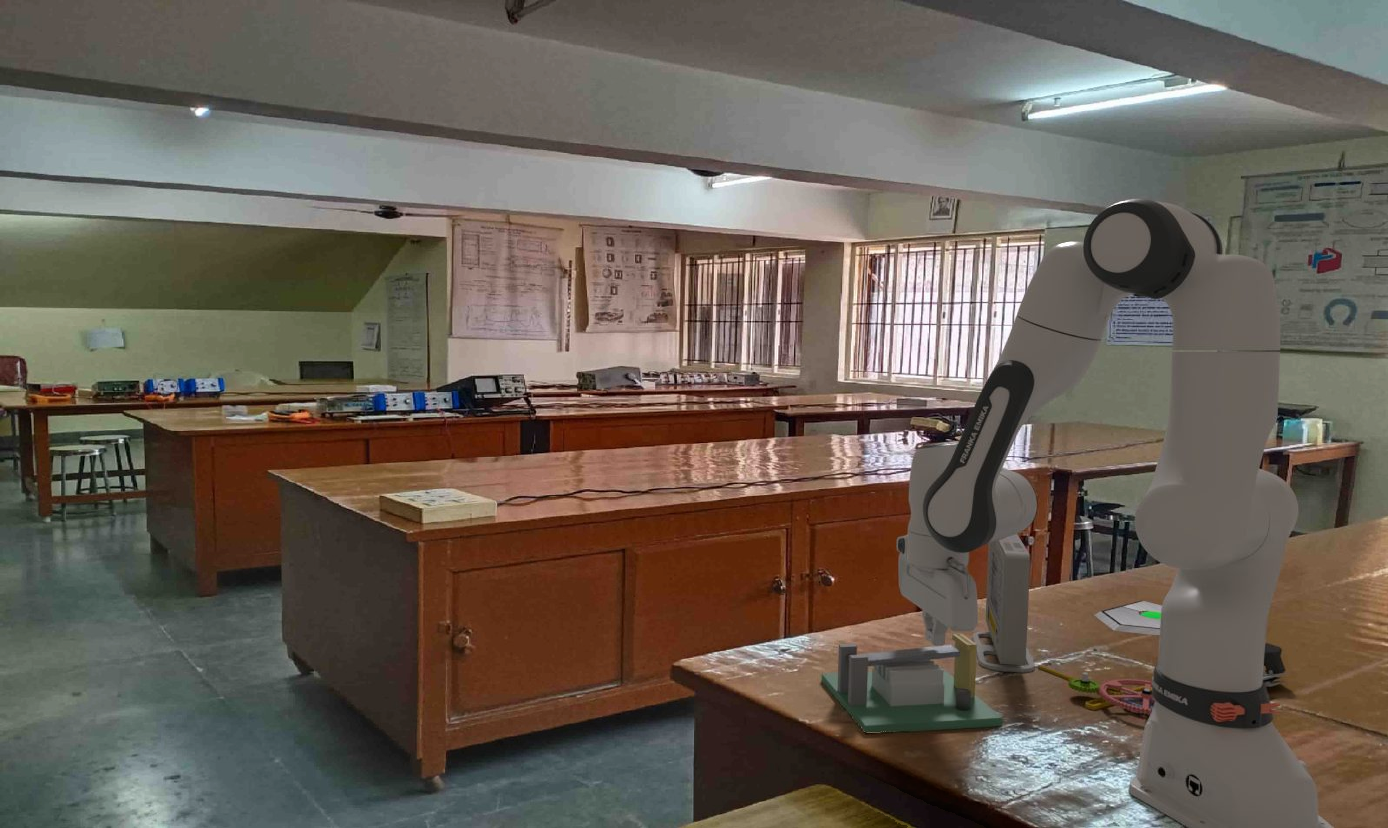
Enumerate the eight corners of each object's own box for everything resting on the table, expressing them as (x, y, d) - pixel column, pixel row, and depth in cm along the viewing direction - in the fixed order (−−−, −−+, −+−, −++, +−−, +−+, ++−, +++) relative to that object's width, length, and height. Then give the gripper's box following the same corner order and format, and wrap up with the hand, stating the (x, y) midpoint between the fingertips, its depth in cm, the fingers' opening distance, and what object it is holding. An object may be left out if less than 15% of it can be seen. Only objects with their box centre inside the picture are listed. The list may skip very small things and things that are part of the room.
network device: (1040, 680, 152) (1045, 556, 150) (982, 676, 154) (987, 553, 152) (1019, 631, 177) (1023, 524, 175) (969, 628, 179) (973, 521, 177)
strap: (960, 657, 141) (960, 650, 141) (853, 668, 139) (853, 662, 139) (951, 650, 145) (951, 643, 145) (846, 661, 142) (845, 654, 142)
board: (1002, 725, 134) (1004, 661, 133) (865, 733, 131) (867, 668, 130) (941, 674, 154) (943, 618, 153) (821, 680, 151) (822, 623, 150)
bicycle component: (1251, 694, 142) (1301, 679, 150) (1236, 644, 144) (1287, 632, 152) (1177, 699, 152) (1228, 685, 160) (1164, 653, 154) (1215, 641, 162)
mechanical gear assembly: (1185, 749, 128) (1247, 730, 136) (1188, 718, 128) (1250, 701, 136) (1006, 678, 154) (1067, 666, 162) (1008, 652, 154) (1069, 641, 161)
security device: (1069, 623, 185) (1070, 613, 184) (1134, 605, 197) (1134, 596, 197) (1154, 648, 171) (1155, 637, 171) (1218, 627, 183) (1219, 617, 183)
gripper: (991, 567, 131) (987, 665, 133) (930, 535, 151) (927, 621, 153) (947, 568, 130) (944, 667, 131) (892, 536, 150) (889, 623, 152)
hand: (934, 642), depth 142 cm, fingers closed
